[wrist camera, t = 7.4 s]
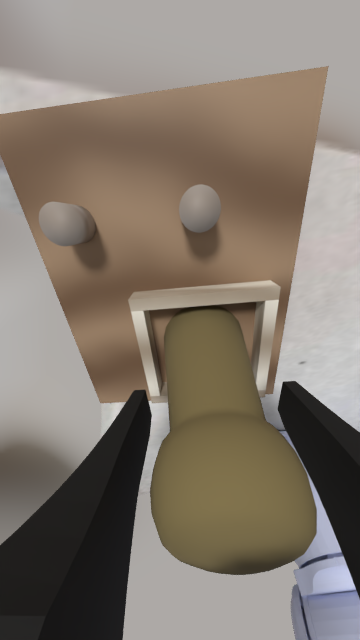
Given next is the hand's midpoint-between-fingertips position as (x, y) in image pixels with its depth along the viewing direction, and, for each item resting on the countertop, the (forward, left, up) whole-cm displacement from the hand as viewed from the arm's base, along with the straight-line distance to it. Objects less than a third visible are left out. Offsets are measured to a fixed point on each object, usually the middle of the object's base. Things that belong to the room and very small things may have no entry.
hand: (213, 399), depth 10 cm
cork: (0, 0, -6) cm, 6 cm away
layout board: (+4, +2, -7) cm, 8 cm away
